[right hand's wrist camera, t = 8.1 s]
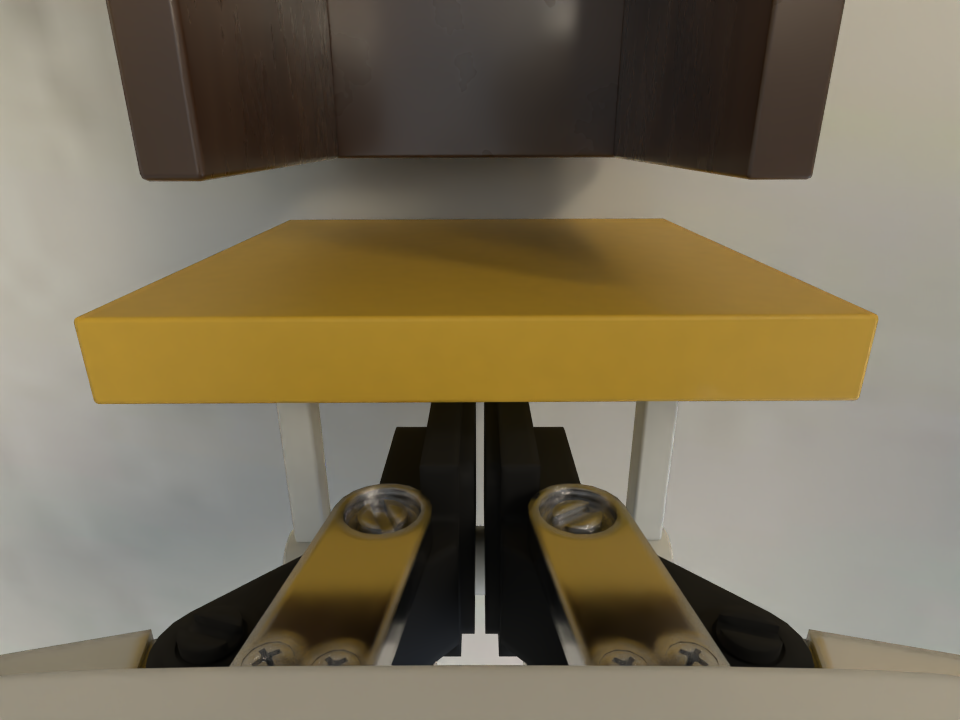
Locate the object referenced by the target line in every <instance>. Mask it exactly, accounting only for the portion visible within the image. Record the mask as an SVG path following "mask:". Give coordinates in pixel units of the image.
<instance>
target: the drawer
mask: <svg viewBox="0 0 960 720" xmlns="http://www.w3.org/2000/svg"><path fill="white" fill-rule="evenodd" d="M844 3H845V0H106V4H107V9H108V14H109V19H110V24H111V29H112V34H113V40H114V45H115V50H116V55H117V60H118V65H119V70H120V75H121V80H122V85H123V90H124V95H125V100H126V105H127V110H128V115H129V120H130V125H131V130H132V136H133V141H134V146H135V151H136V156H137V161H138V166H139V171H140V175H141V177H142V178H143V179H145V180H148V181H205V180H211V179H217V178H223V177H229V176H235V175H240V174H246V173H252V172H258V171H264V170H270V169H276V168H282V167H288V166H294V165H300V164H306V163H312V162H318V161H324V160H330V159H336V158H571V157H616V158H622V159H628V160H634V161H640V162H646V163H652V164H658V165H664V166H670V167H676V168H682V169H689V170H695V171H701V172H707V173H713V174H719V175H725V176H731V177H737V178H743V179H750V180H762V179H808V178H811V176H812V173H813V168H814V163H815V157H816V152H817V147H818V141H819V136H820V131H821V125H822V120H823V115H824V109H825V104H826V99H827V94H828V88H829V83H830V78H831V72H832V67H833V62H834V56H835V51H836V46H837V40H838V35H839V30H840V24H841V19H842V14H843V8H844ZM877 323H878V316H877V315H876V314H874V313H872V312H870V311H867V310H865V309H863V308H861V307H859V306H856V305H854V304H852V303H850V302H847V301H845V300H843V299H841V298H839V297H836V296H834V295H832V294H830V293H827V292H825V291H823V290H821V289H819V288H816V287H814V286H812V285H810V284H807V283H805V282H803V281H801V280H799V279H796V278H794V277H792V276H790V275H787V274H785V273H783V272H781V271H779V270H776V269H774V268H772V267H770V266H767V265H765V264H763V263H761V262H759V261H756V260H754V259H752V258H750V257H747V256H745V255H743V254H741V253H739V252H736V251H734V250H732V249H730V248H727V247H725V246H723V245H721V244H718V243H716V242H714V241H712V240H710V239H707V238H705V237H703V236H701V235H698V234H696V233H694V232H692V231H690V230H687V229H685V228H683V227H681V226H678V225H676V224H674V223H672V222H670V221H667V220H665V219H424V220H289V221H287V222H285V223H282V224H280V225H278V226H276V227H274V228H272V229H269V230H267V231H265V232H263V233H261V234H258V235H256V236H254V237H252V238H250V239H247V240H245V241H243V242H241V243H239V244H237V245H234V246H232V247H230V248H228V249H226V250H223V251H221V252H219V253H217V254H215V255H212V256H210V257H208V258H206V259H204V260H202V261H199V262H197V263H195V264H193V265H191V266H188V267H186V268H184V269H182V270H180V271H177V272H175V273H173V274H171V275H169V276H166V277H164V278H162V279H160V280H158V281H156V282H153V283H151V284H149V285H147V286H145V287H142V288H140V289H138V290H136V291H134V292H131V293H129V294H127V295H125V296H123V297H121V298H118V299H116V300H114V301H112V302H110V303H107V304H105V305H103V306H101V307H99V308H96V309H94V310H92V311H90V312H88V313H86V314H83V315H81V316H79V317H77V318H75V320H74V325H75V329H76V332H77V336H78V340H79V344H80V348H81V352H82V356H83V360H84V364H85V367H86V371H87V375H88V379H89V383H90V387H91V391H92V395H93V398H94V401H95V402H96V403H97V404H184V403H276V405H277V412H278V419H279V427H280V434H281V441H282V448H283V456H284V463H285V470H286V477H287V485H288V492H289V499H290V506H291V514H292V521H293V528H294V529H293V530H292V532H291V533H290V535H289V537H288V540H287V543H286V547H285V552H284V558H283V565H284V564H286V563H288V562H290V561H292V560H294V559H296V558H298V557H300V556H302V555H303V554H304V552H305V551H306V549H307V548H308V546H309V545H310V543H311V542H312V540H313V539H314V537H315V536H316V534H317V533H318V531H319V530H320V528H321V526H322V525H323V523H324V522H325V520H326V519H327V517H328V516H329V514H330V513H331V512H330V503H329V494H328V485H327V476H326V467H325V458H324V448H323V439H322V430H321V421H320V412H319V403H395V402H607V401H636V411H635V421H634V431H633V441H632V451H631V461H630V471H629V481H628V491H627V501H626V508H627V510H628V511H629V513H630V514H631V516H632V517H633V519H634V520H635V522H636V523H637V525H638V526H639V528H640V530H641V531H642V533H643V534H644V536H645V537H646V539H647V540H648V542H649V543H650V545H651V546H652V548H653V549H654V551H655V552H656V554H657V555H658V556H660V557H662V558H664V559H666V560H668V561H670V562H672V563H673V554H672V548H671V544H670V541H669V538H668V535H667V533H666V531H665V529H664V528H663V520H664V512H665V505H666V497H667V489H668V481H669V473H670V466H671V458H672V450H673V442H674V434H675V427H676V419H677V411H678V403H679V401H818V400H857V399H858V398H859V396H860V392H861V388H862V384H863V380H864V376H865V372H866V368H867V363H868V359H869V355H870V351H871V347H872V343H873V339H874V335H875V331H876V327H877ZM475 595H485V552H484V526H476V552H475Z"/></svg>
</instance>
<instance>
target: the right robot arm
mask: <svg viewBox="0 0 960 720" xmlns="http://www.w3.org/2000/svg"><path fill="white" fill-rule="evenodd" d="M475 552H476V402H431V407H430V413H429V418H428V423H427V427H397V428H396V430H395V433H394V437H393V440H392V443H391V447H390V450H389V454H388V457H387V460H386V464H385V467H384V471H383V474H382V477H381V481H380V484H377V485H372V486H367V487H364V488H361V489H358V490H355V491H353V492H351V493H350V494H348V495H347V496H345V497H343V498H342V499H341V500H340V501H339V502H338V503H337V504H336V505H335V507H334V508H333V510H332V511H331V513H330V514H329V516H328V517H327V519H326V520H325V522H324V523H323V525H322V526H321V528H320V530H319V531H318V533H317V534H316V536H315V537H314V539H313V540H312V542H311V543H310V545H309V546H308V548H307V549H306V551H305V552H304V554H303V555H302V556H300V557H298V558H296V559H294V560H292V561H290V562H288V563H286V564H284V565H282V566H280V567H278V568H276V569H274V570H272V571H270V572H268V573H266V574H264V575H262V576H261V577H259V578H257V579H255V580H253V581H251V582H249V583H247V584H245V585H243V586H241V587H239V588H237V589H235V590H233V591H231V592H229V593H227V594H225V595H223V596H221V597H219V598H217V599H215V600H214V601H212V602H210V603H208V604H206V605H204V606H202V607H200V608H198V609H196V610H194V611H192V612H190V613H188V614H187V615H185V616H184V617H182V618H181V619H179V620H177V621H176V622H174V623H173V624H172V625H171V626H170V627H168V628H167V629H166V630H165V631H164V632H163V633H162V634H161V635H160V636H159V637H158V639H153V635H152V631H151V629H150V630H144V631H138V632H132V633H126V634H121V635H115V636H109V637H103V638H97V639H91V640H85V641H79V642H73V643H68V644H62V645H56V646H50V647H44V648H38V649H32V650H26V651H20V652H15V653H9V654H3V655H0V720H960V655H957V654H951V653H945V652H940V651H934V650H928V649H922V648H916V647H910V646H904V645H898V644H892V643H887V642H881V641H875V640H869V639H863V638H857V637H851V636H845V635H839V634H834V633H828V632H822V631H816V630H810V629H809V631H808V635H807V639H802V637H801V636H800V635H799V634H798V633H797V632H796V631H795V630H794V629H793V628H792V627H790V626H789V625H788V624H787V623H786V622H784V621H783V620H781V619H779V618H778V617H776V616H775V615H773V614H772V613H770V612H768V611H766V610H764V609H762V608H760V607H758V606H756V605H754V604H752V603H750V602H748V601H746V600H745V599H743V598H741V597H739V596H737V595H735V594H733V593H731V592H729V591H727V590H725V589H723V588H721V587H719V586H717V585H715V584H713V583H711V582H709V581H707V580H705V579H703V578H701V577H699V576H698V575H696V574H694V573H692V572H690V571H688V570H686V569H684V568H682V567H680V566H678V565H676V564H674V563H672V562H670V561H668V560H666V559H664V558H662V557H660V556H658V555H657V554H656V552H655V551H654V549H653V548H652V546H651V545H650V543H649V542H648V540H647V539H646V537H645V536H644V534H643V533H642V531H641V530H640V528H639V526H638V525H637V523H636V522H635V520H634V519H633V517H632V516H631V514H630V513H629V511H628V510H627V508H626V507H625V505H624V504H623V503H622V502H621V501H620V500H619V499H618V498H617V497H615V496H613V495H612V494H610V493H609V492H607V491H605V490H602V489H599V488H596V487H593V486H588V485H583V484H580V481H579V477H578V474H577V471H576V467H575V464H574V460H573V457H572V454H571V450H570V447H569V443H568V440H567V437H566V433H565V430H564V428H563V427H533V423H532V418H531V413H530V407H529V402H484V552H485V634H498V641H499V656H517V657H518V658H520V659H521V660H522V661H523V665H437V661H438V660H439V659H440V658H442V657H443V656H461V641H462V634H475Z"/></svg>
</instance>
